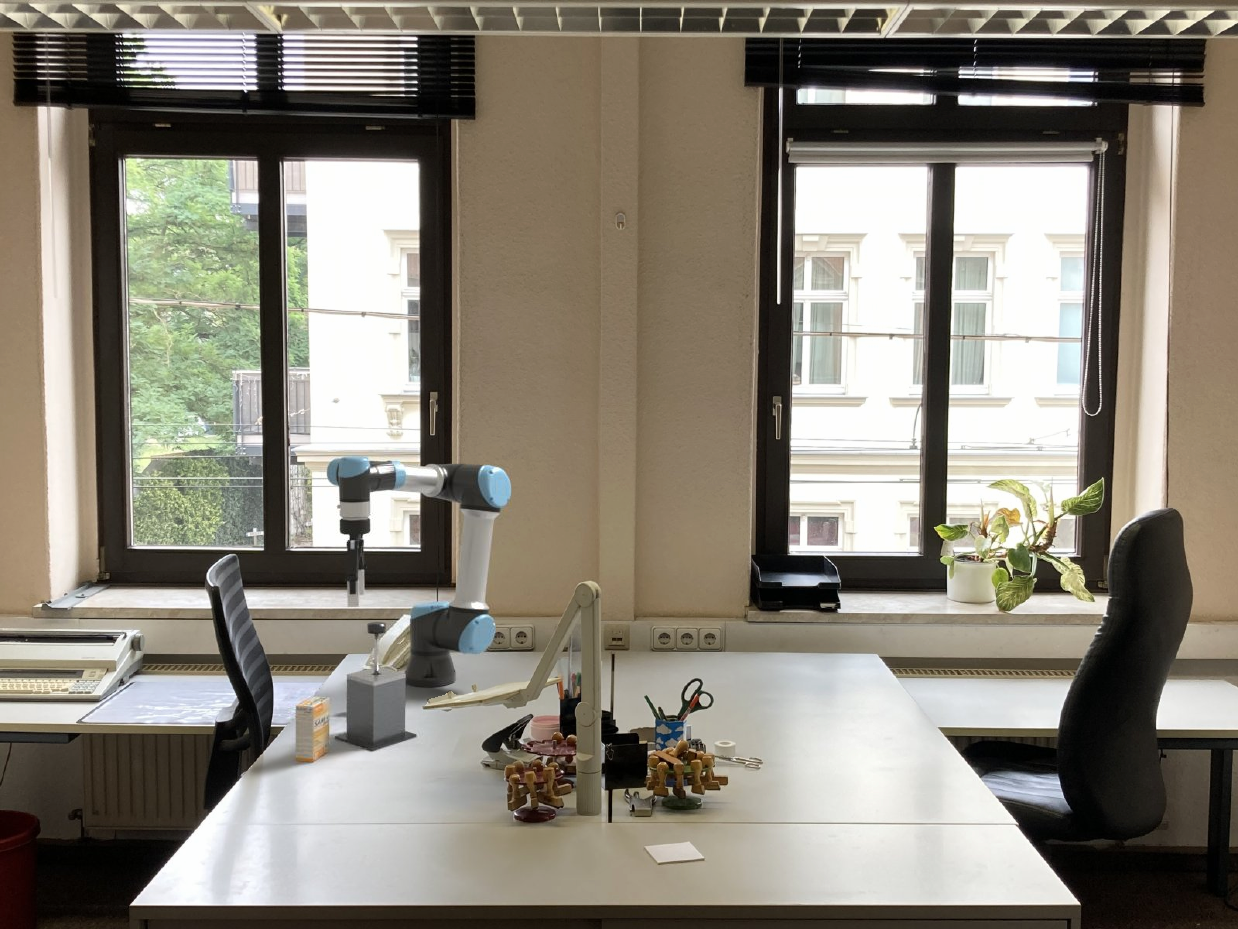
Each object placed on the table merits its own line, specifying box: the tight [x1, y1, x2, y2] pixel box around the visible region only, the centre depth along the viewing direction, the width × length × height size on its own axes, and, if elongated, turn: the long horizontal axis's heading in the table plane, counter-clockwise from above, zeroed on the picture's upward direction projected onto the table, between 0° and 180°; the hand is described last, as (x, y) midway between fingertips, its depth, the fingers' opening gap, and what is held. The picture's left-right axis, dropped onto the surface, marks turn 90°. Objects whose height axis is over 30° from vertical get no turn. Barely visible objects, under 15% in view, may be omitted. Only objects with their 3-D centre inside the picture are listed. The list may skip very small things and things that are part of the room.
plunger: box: [366, 621, 387, 675], centre depth 263 cm, size 7×7×15 cm
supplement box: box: [294, 696, 331, 763], centre depth 251 cm, size 8×5×13 cm, turn 168°
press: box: [334, 666, 417, 752], centre depth 265 cm, size 14×15×16 cm
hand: (356, 600), depth 273 cm, fingers open, 13 cm apart
